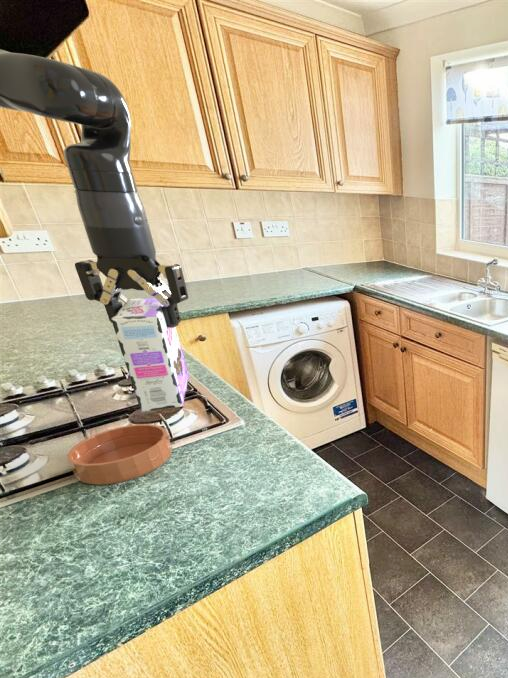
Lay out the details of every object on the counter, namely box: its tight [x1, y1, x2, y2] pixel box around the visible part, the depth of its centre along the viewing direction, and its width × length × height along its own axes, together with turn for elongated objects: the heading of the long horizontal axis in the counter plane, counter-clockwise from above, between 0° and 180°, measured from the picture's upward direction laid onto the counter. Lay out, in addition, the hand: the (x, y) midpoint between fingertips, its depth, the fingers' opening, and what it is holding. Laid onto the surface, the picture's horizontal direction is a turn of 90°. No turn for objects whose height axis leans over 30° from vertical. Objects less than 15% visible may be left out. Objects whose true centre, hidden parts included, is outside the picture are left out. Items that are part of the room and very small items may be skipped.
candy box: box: [111, 297, 190, 413], centre depth 73 cm, size 14×6×16 cm, turn 31°
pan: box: [66, 423, 173, 486], centre depth 81 cm, size 14×14×4 cm
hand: (147, 325), depth 71 cm, fingers closed on candy box, 7 cm apart
